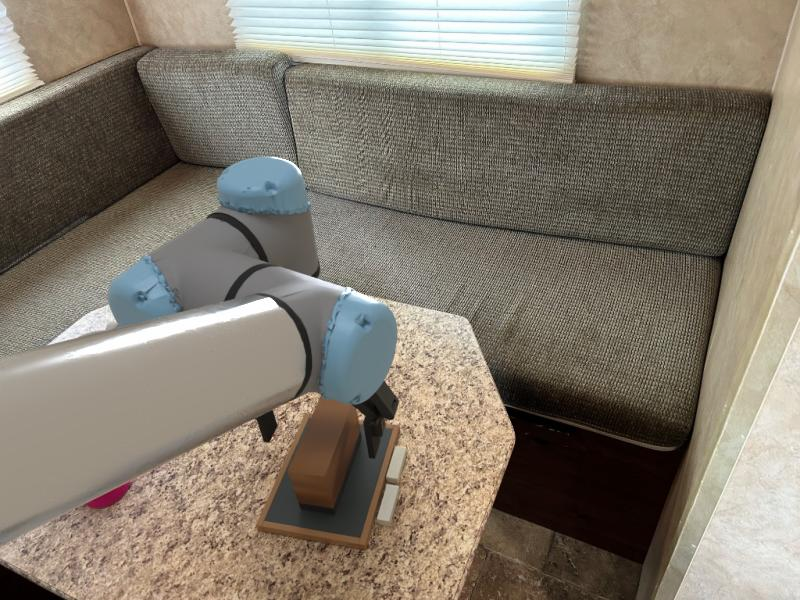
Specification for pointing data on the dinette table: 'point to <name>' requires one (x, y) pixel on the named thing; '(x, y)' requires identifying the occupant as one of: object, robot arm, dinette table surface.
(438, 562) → the dinette table surface
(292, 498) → the chalkboard
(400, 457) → the white chalk stick
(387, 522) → the white rectangular bar
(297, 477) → the eraser
